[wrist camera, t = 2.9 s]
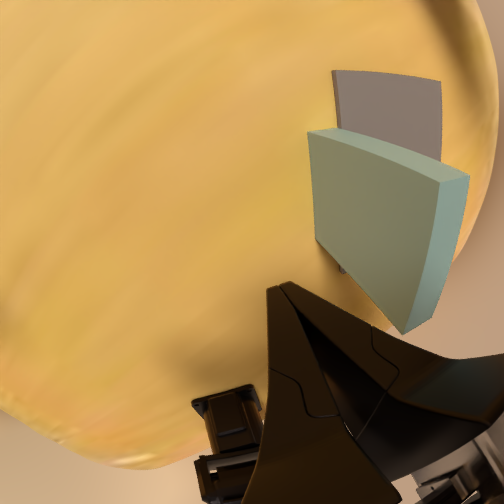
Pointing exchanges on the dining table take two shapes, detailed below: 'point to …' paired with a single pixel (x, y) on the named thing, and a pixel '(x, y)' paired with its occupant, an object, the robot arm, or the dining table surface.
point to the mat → (391, 109)
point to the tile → (387, 219)
